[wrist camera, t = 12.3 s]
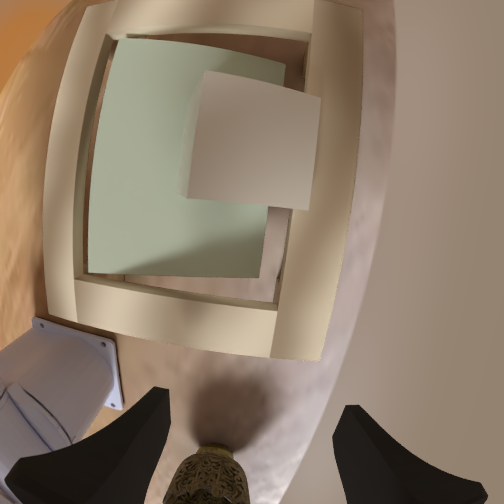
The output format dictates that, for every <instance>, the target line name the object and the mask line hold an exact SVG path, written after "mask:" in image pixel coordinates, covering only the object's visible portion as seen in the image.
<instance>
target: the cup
mask: <svg viewBox="0 0 504 504" xmlns="http://www.w3.org/2000/svg"><path fill="white" fill-rule="evenodd" d="M163 504H250V498H249V490H248V483H247V478H246V475H245V472H244V470H243V469H242V467H241V466H240V465H239V464H238V463H237V462H236V461H235V460H233V455H232V453H231V451H230V450H229V449H228V448H227V447H225V446H223V445H220V444H214V443H210V444H205V445H203V446H201V447H200V448H199V449H198V450H197V452H196V454H193V455H191V456H189V457H188V458H186V459H185V460H184V461H183V462H182V463H181V464H180V466H179V467H178V469H177V471H176V473H175V475H174V477H173V479H172V481H171V483H170V486H169V488H168V490H167V492H166V495H165V497H164V499H163Z"/></svg>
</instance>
